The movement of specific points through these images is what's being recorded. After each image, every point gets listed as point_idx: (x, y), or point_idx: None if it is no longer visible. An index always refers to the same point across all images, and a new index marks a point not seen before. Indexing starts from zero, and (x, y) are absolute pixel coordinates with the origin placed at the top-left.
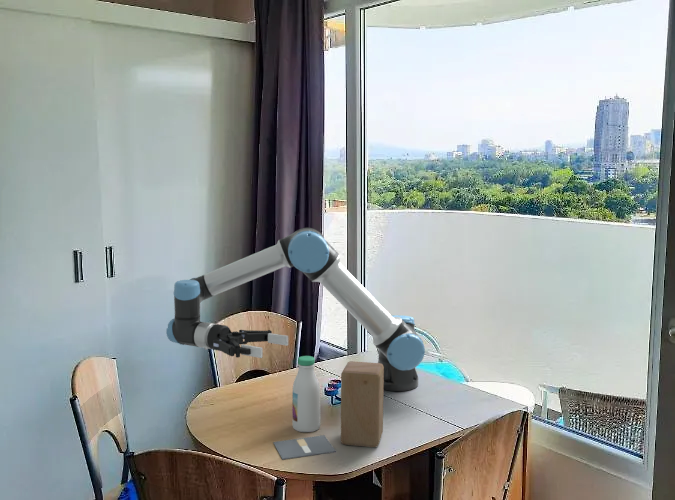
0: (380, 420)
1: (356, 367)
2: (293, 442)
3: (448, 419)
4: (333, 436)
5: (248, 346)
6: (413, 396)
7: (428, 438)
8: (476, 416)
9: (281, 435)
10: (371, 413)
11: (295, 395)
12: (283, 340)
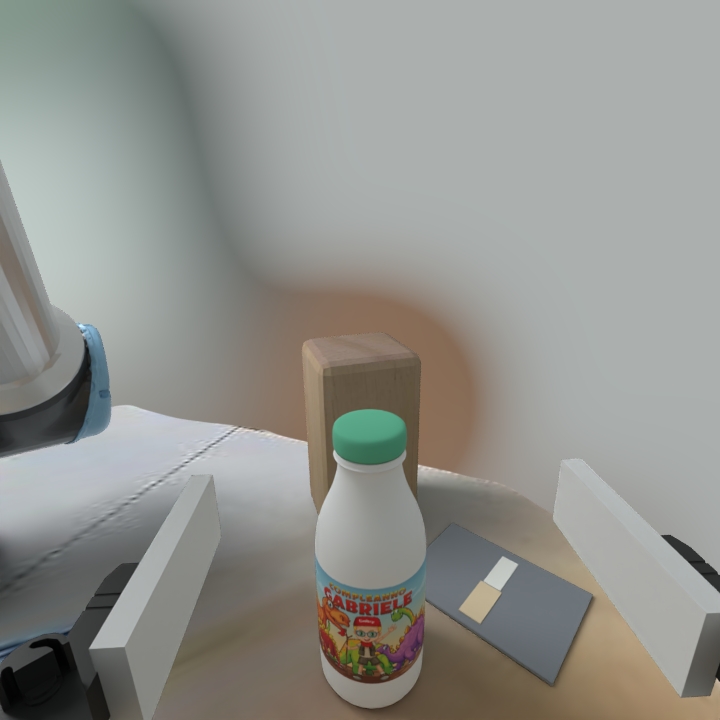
0: None
1: (371, 348)
2: (498, 622)
3: (200, 445)
4: None
5: (659, 535)
6: (46, 516)
7: (298, 445)
8: (177, 426)
9: (484, 700)
10: None
11: (425, 564)
12: (208, 526)
